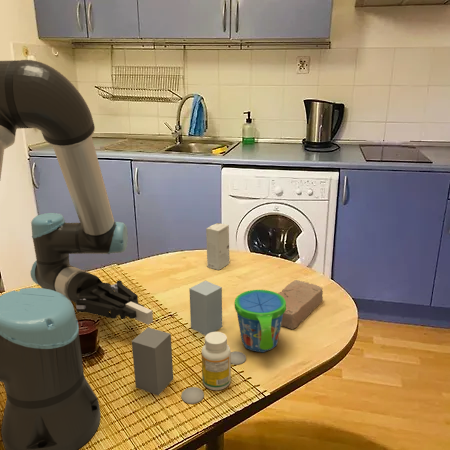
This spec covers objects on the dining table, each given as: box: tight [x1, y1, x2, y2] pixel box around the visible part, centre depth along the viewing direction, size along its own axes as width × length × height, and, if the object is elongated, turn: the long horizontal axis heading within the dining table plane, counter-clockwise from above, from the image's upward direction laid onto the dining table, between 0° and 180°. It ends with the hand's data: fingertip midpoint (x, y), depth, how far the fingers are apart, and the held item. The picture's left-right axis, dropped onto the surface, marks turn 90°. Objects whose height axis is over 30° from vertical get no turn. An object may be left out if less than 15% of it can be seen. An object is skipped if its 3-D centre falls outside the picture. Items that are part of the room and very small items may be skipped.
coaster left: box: [180, 386, 205, 405], centre depth 82 cm, size 4×4×1 cm
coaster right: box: [231, 350, 247, 366], centre depth 92 cm, size 4×4×1 cm
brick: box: [278, 279, 324, 330], centre depth 109 cm, size 16×8×5 cm, turn 145°
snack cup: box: [234, 289, 286, 353], centre depth 96 cm, size 16×10×10 cm
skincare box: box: [205, 222, 230, 271], centre depth 132 cm, size 6×4×12 cm
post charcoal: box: [131, 327, 174, 396], centre depth 84 cm, size 5×5×10 cm
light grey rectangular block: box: [189, 280, 223, 337], centre depth 102 cm, size 5×5×10 cm
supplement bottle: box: [201, 331, 232, 391], centre depth 84 cm, size 5×5×10 cm
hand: (150, 317), depth 95 cm, fingers closed
